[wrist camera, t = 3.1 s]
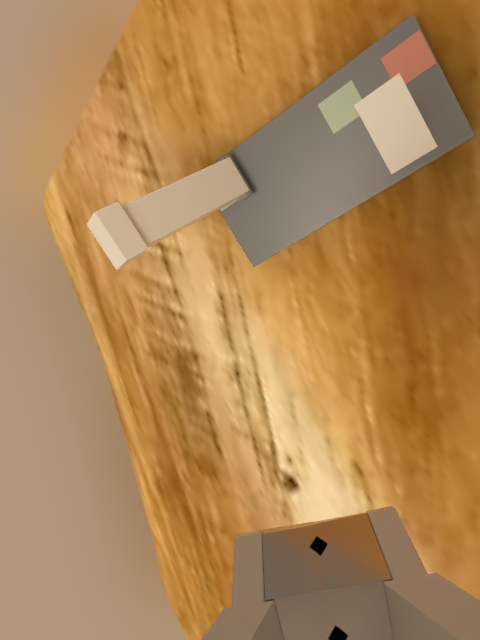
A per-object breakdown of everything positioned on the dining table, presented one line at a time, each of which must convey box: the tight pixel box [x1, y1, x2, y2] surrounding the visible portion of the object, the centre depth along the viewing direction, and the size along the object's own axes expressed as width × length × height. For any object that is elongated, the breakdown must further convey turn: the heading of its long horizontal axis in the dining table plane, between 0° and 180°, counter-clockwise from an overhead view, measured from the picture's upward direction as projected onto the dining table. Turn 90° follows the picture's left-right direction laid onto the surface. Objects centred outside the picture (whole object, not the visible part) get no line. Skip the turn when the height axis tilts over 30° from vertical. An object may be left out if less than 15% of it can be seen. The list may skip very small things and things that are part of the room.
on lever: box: [87, 153, 253, 270], centre depth 33 cm, size 4×2×13 cm
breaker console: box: [219, 14, 475, 267], centre depth 36 cm, size 9×19×3 cm, turn 124°
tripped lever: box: [354, 73, 438, 175], centre depth 26 cm, size 4×2×13 cm, turn 33°
